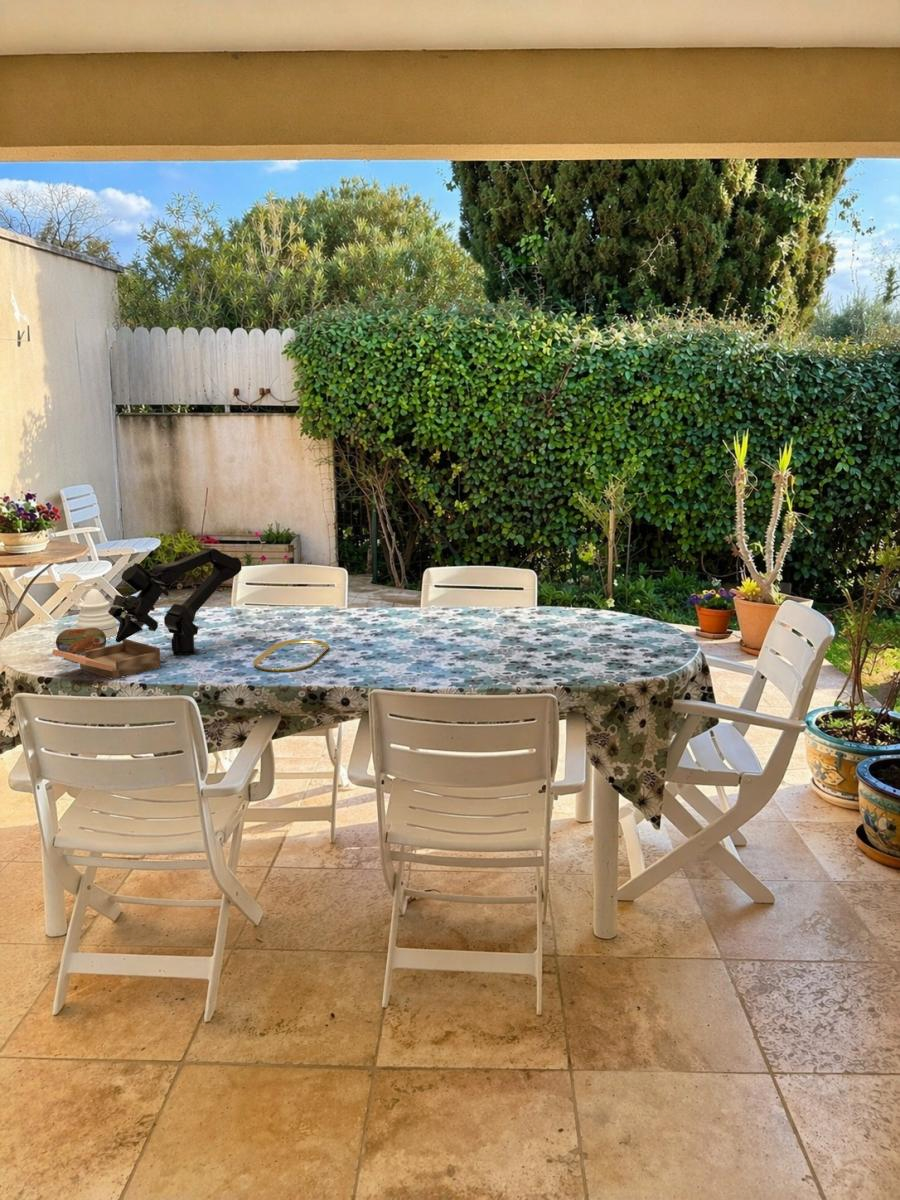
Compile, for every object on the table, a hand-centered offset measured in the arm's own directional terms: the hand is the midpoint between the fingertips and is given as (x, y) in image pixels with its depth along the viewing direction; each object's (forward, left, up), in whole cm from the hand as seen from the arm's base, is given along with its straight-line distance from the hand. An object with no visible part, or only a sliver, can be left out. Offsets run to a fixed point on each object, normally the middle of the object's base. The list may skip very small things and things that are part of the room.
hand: (117, 641), depth 276 cm
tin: (+14, -20, -9) cm, 26 cm away
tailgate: (+6, +5, -6) cm, 9 cm away
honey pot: (+13, -42, -9) cm, 45 cm away
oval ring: (-52, -3, -9) cm, 53 cm away
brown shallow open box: (0, 0, -8) cm, 8 cm away
